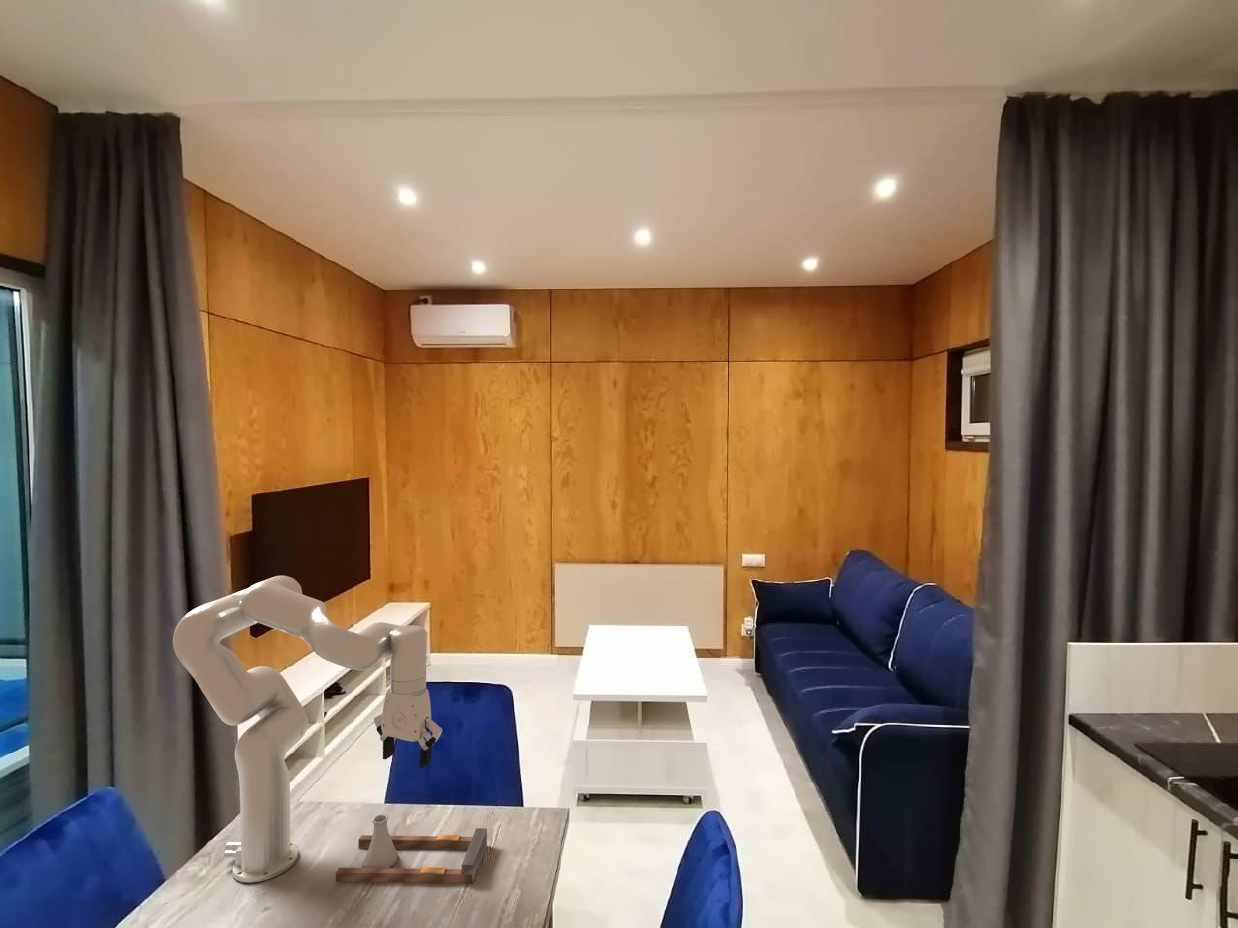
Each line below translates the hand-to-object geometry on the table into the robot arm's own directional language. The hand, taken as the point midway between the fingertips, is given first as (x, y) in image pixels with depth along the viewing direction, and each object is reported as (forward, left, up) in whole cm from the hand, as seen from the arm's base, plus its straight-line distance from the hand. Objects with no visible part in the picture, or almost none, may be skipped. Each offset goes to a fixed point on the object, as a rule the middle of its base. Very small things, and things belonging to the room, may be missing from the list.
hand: (406, 760), depth 134 cm
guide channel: (+1, 0, -23) cm, 23 cm away
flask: (-6, 0, -23) cm, 24 cm away
